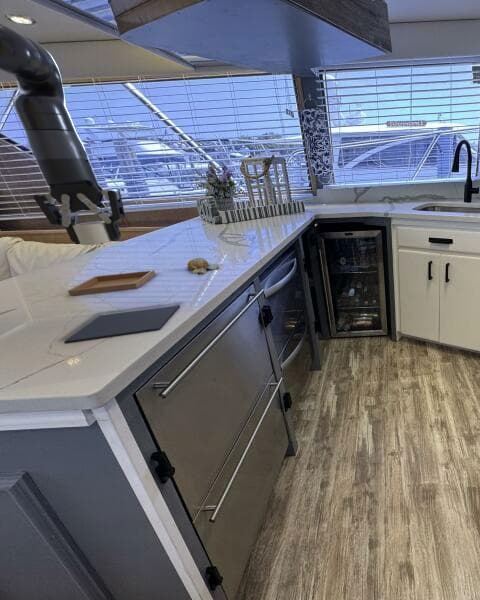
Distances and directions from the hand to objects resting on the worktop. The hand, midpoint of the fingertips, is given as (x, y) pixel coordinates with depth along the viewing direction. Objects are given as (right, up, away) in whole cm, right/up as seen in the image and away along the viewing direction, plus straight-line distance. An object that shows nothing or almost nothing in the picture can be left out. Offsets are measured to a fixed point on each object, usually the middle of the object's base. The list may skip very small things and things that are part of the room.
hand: (98, 241), depth 70 cm
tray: (-15, -9, +21) cm, 27 cm away
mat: (+7, -18, -1) cm, 19 cm away
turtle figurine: (+3, -4, +32) cm, 32 cm away
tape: (0, 0, 0) cm, 0 cm away
